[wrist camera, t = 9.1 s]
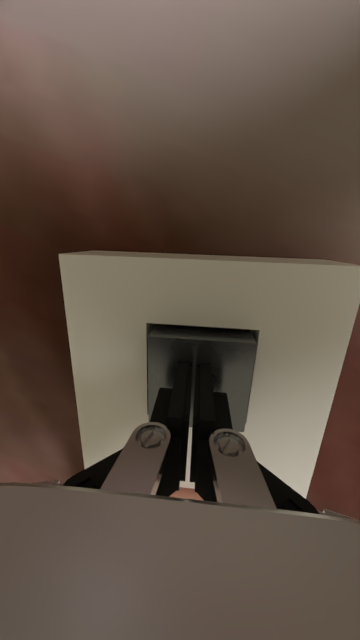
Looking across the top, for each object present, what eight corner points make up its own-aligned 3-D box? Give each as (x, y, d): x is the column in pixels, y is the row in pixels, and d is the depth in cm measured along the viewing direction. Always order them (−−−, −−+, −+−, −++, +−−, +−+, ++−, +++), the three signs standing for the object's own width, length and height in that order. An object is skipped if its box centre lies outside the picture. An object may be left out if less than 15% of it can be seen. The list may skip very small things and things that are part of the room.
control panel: (119, 579, 26) (104, 636, 22) (94, 250, 15) (58, 253, 12) (251, 598, 25) (260, 662, 21) (325, 259, 14) (369, 266, 10)
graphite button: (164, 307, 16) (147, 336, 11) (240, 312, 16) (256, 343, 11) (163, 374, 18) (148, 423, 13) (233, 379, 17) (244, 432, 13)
